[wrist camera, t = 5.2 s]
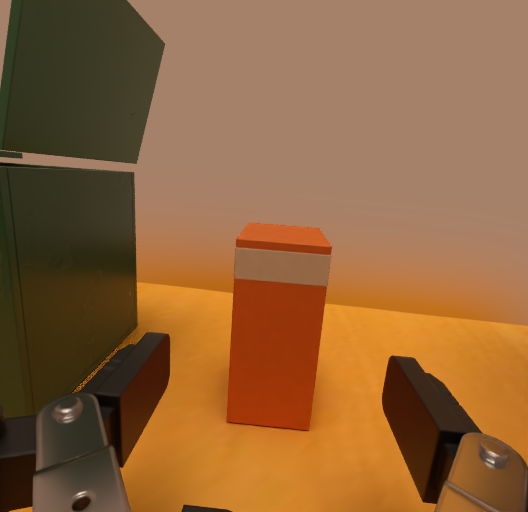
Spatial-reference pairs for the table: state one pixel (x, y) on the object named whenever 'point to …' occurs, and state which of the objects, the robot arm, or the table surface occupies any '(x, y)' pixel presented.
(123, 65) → the green box lid flap
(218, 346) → the table surface
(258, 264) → the block
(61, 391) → the green flap box
